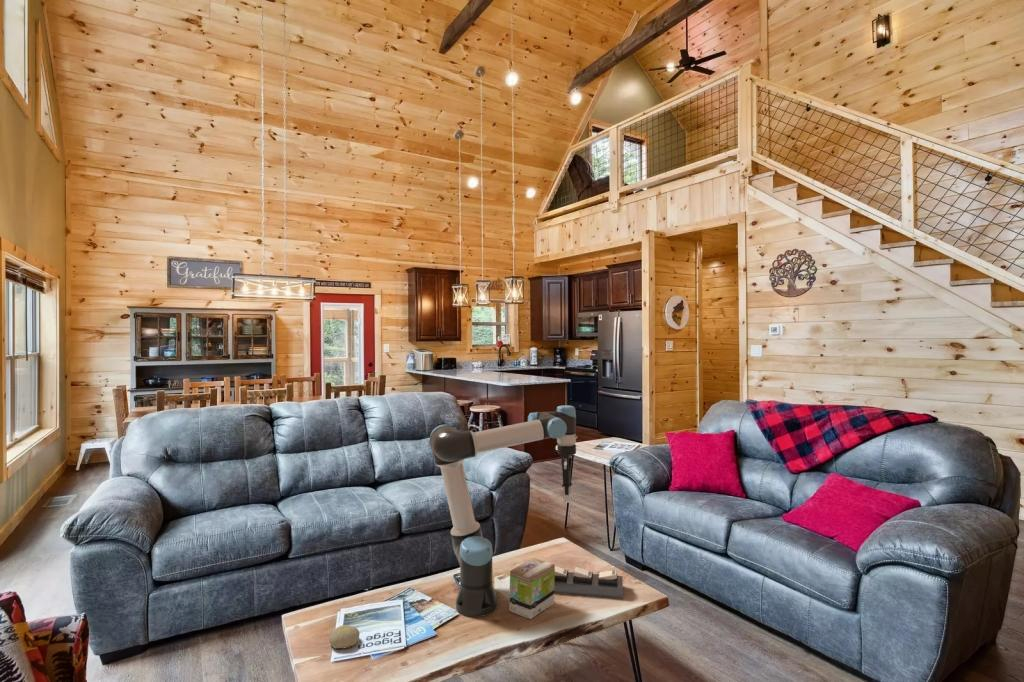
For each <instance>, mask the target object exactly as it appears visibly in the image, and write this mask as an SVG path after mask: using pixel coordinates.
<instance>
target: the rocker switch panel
mask: <svg viewBox="0 0 1024 682" xmlns="http://www.w3.org/2000/svg"><path fill="white" fill-rule="evenodd" d="M566 570H567V575H566V576H555V582H554V585H555V590H554V594H561V595H562V594H563V595H573V596H586V597H595V598H596V597H598V598H610V599H619V598H622V599H623V598H624V592H623V591H624V585H623V576H622V575H618V573H617V579H613V580H605V579H599V573H598V574H596V573H593V571H591V572H592V576H591V578H580V577H576V576H574V571H573V572H571V571H569V569H566Z"/></svg>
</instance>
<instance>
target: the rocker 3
mask: <svg viewBox="0 0 1024 682" xmlns="http://www.w3.org/2000/svg"><path fill="white" fill-rule="evenodd" d="M598 574H599V579H605V580H613V579H617V574H618V572H617V570H616V569H612V570H605V571H599V572H598Z"/></svg>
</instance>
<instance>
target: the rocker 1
mask: <svg viewBox="0 0 1024 682" xmlns="http://www.w3.org/2000/svg"><path fill="white" fill-rule="evenodd" d="M567 570H568V569H565V568H562V567H560V566H557V565H555V576H566V575H567Z"/></svg>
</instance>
